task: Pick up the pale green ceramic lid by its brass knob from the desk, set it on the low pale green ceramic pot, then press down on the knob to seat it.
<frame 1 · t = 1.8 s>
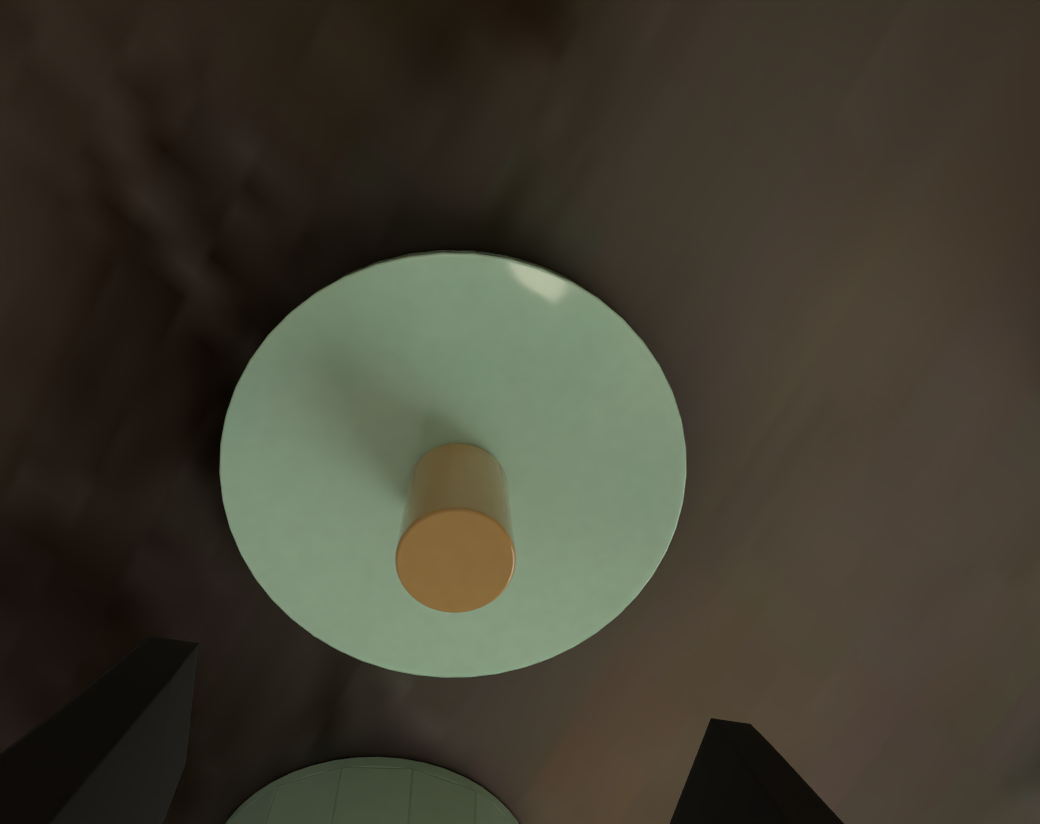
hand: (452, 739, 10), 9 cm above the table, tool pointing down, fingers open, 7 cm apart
lid: (458, 479, 18), point 1 cm above the table
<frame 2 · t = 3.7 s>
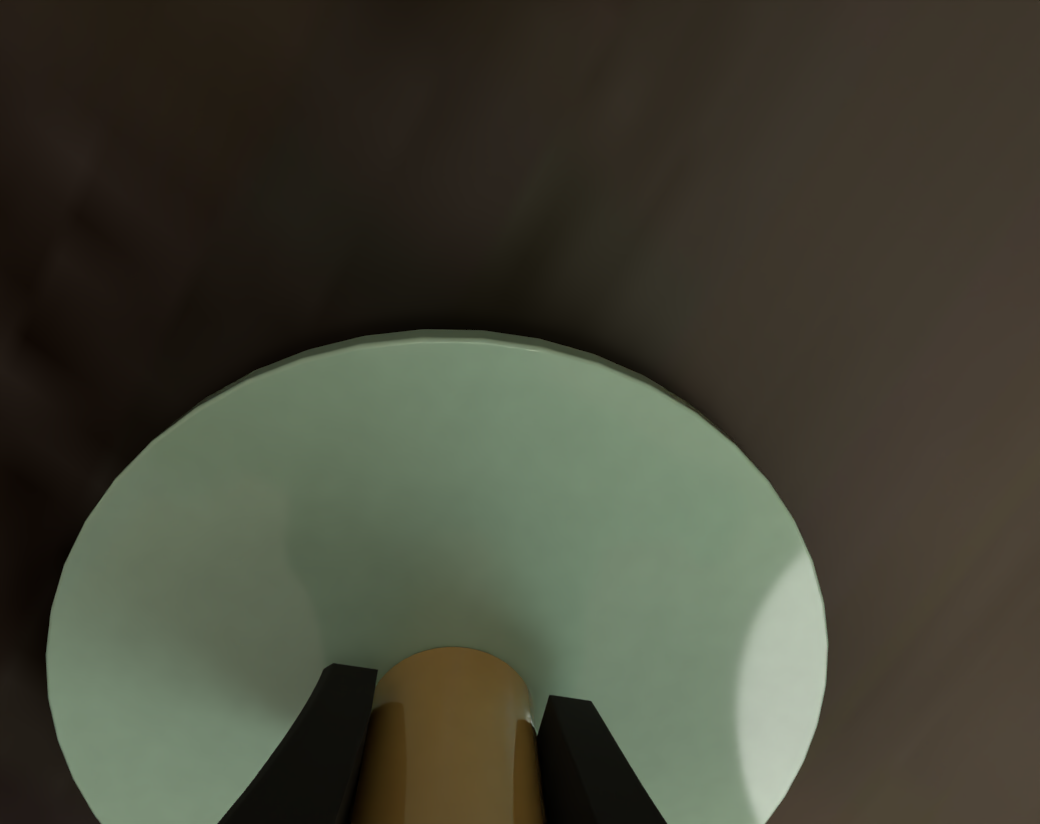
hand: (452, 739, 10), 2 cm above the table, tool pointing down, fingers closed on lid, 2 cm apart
lid: (452, 689, 11), point 1 cm above the table, touching gripper
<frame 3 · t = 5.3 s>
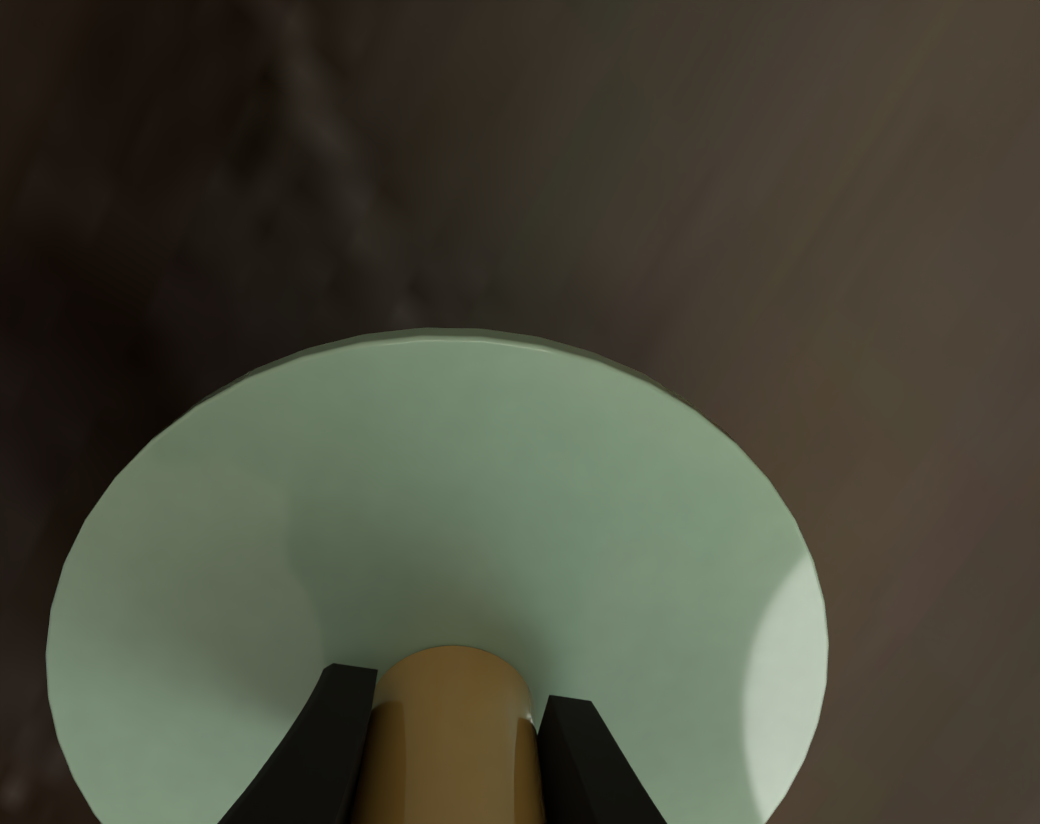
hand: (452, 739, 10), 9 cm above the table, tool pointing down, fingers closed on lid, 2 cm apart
lid: (452, 687, 11), point 8 cm above the table, touching gripper
when the fingers open (7 cm above the table, at t = 7.0 s): lid stays where it is, resting on pot.
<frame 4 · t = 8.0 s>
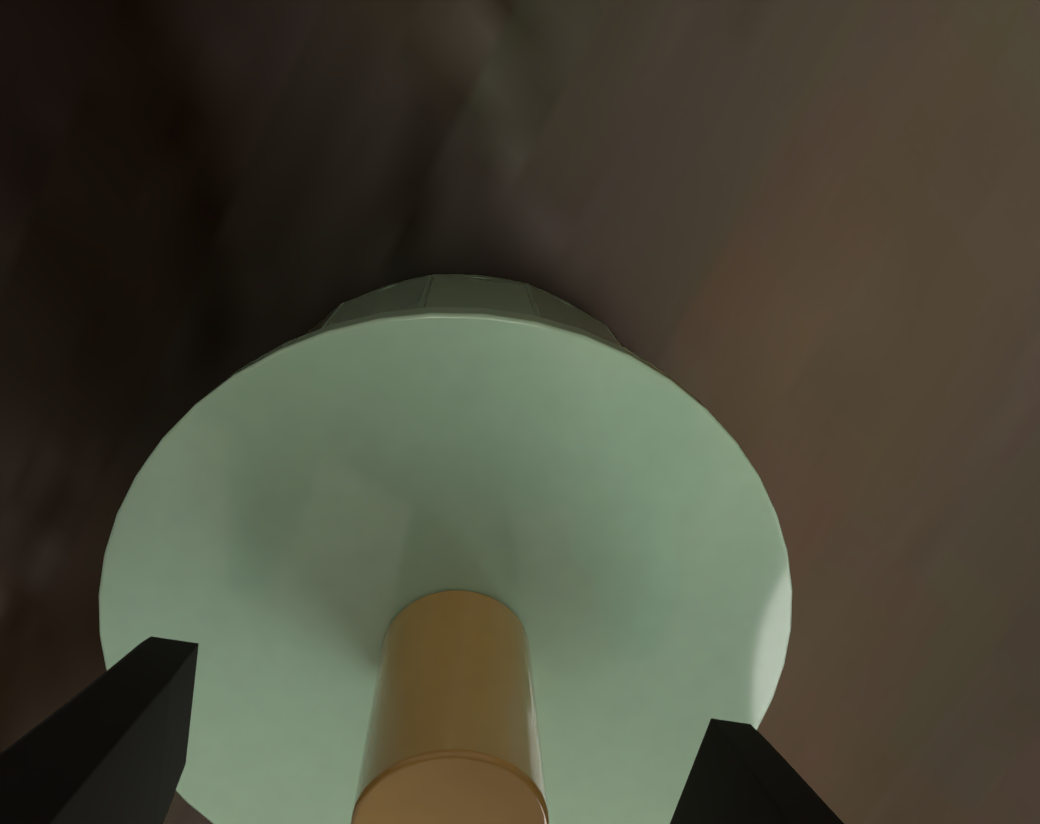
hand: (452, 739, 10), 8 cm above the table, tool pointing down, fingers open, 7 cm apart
lid: (456, 632, 13), point 6 cm above the table, touching pot
pot: (462, 483, 18), on the table
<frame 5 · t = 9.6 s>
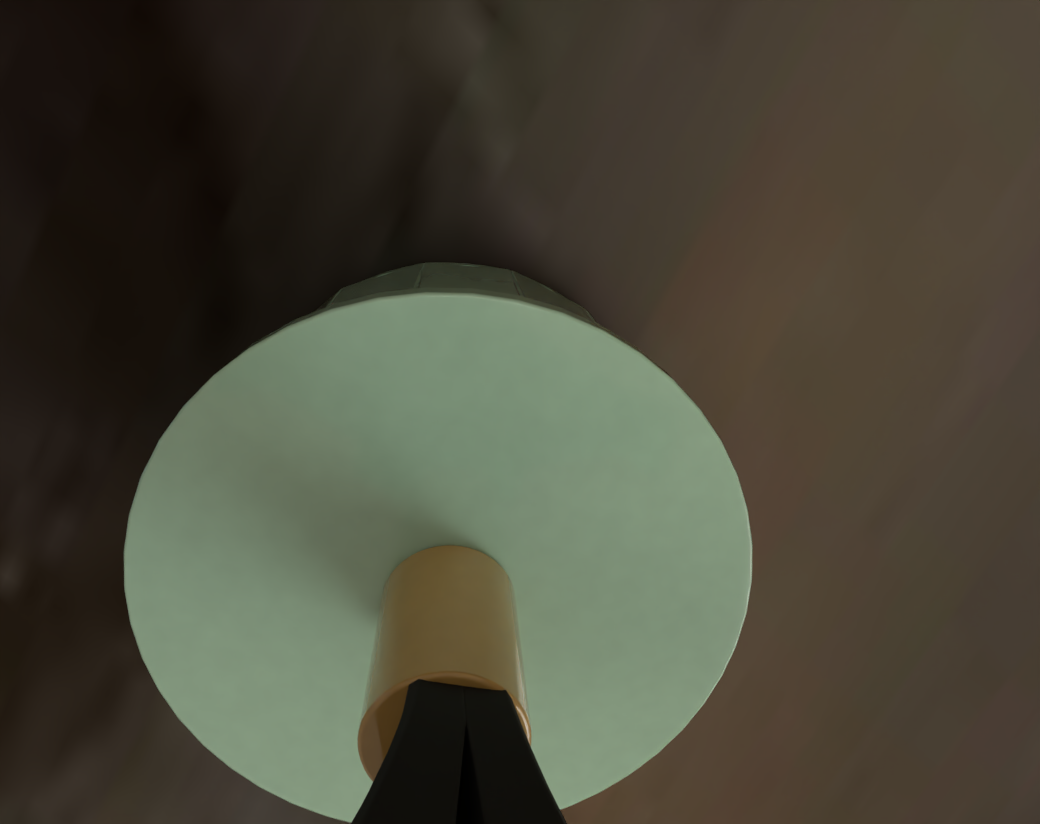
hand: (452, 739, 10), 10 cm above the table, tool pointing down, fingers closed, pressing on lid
lid: (449, 586, 14), point 6 cm above the table, touching gripper, pot
pot: (453, 459, 19), on the table
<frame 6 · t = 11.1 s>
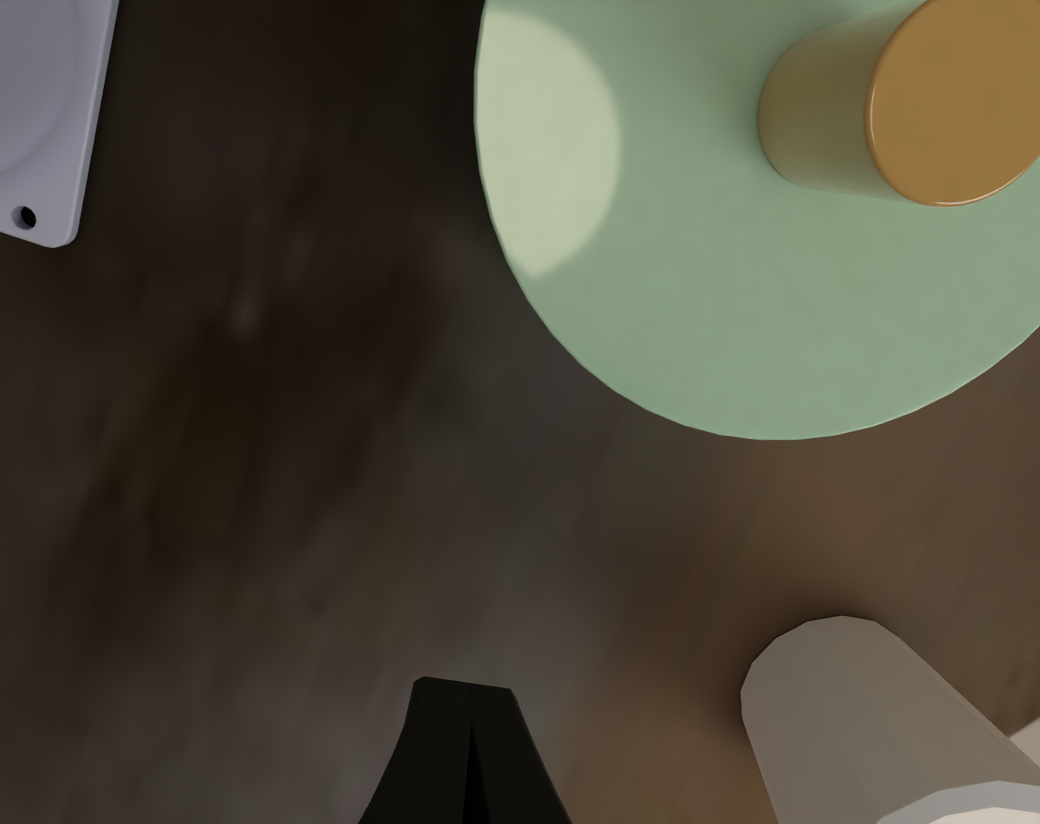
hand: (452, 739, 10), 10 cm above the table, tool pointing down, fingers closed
lid: (817, 111, 12), point 6 cm above the table, touching pot
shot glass: (823, 685, 24), on the table
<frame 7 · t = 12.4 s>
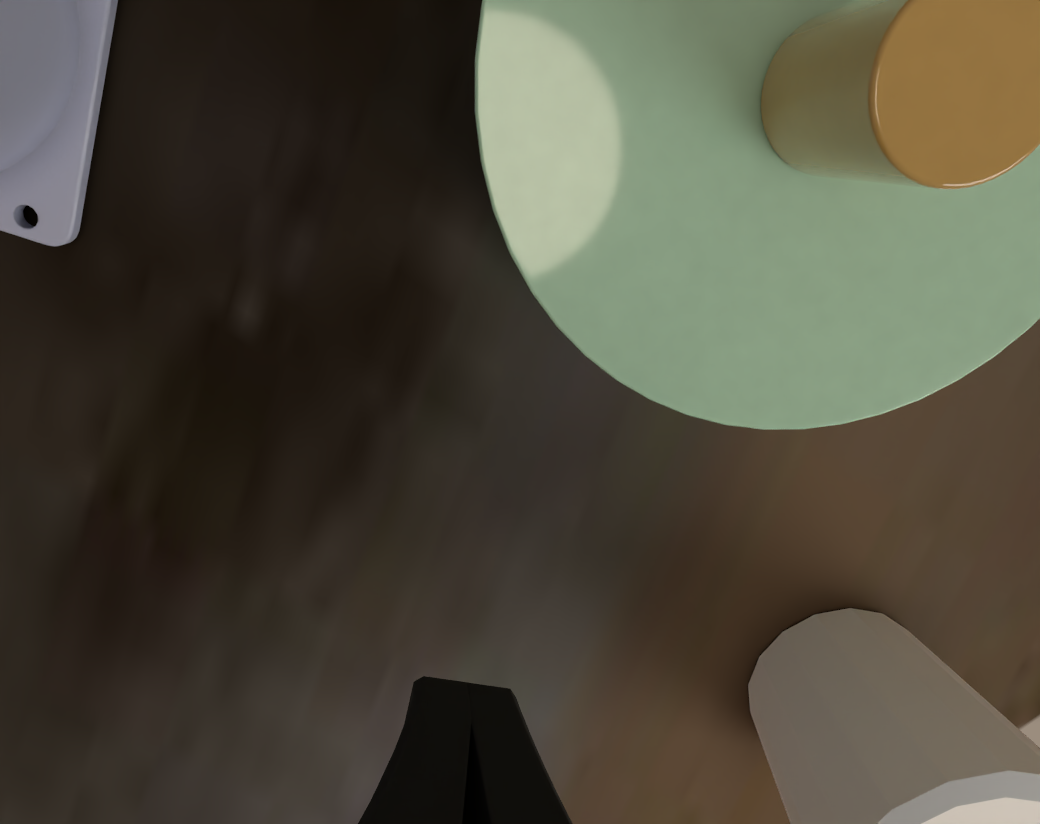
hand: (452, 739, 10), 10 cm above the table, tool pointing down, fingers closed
lid: (820, 97, 12), point 6 cm above the table, touching pot
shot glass: (831, 678, 24), on the table
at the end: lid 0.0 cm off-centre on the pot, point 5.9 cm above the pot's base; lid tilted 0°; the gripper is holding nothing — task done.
